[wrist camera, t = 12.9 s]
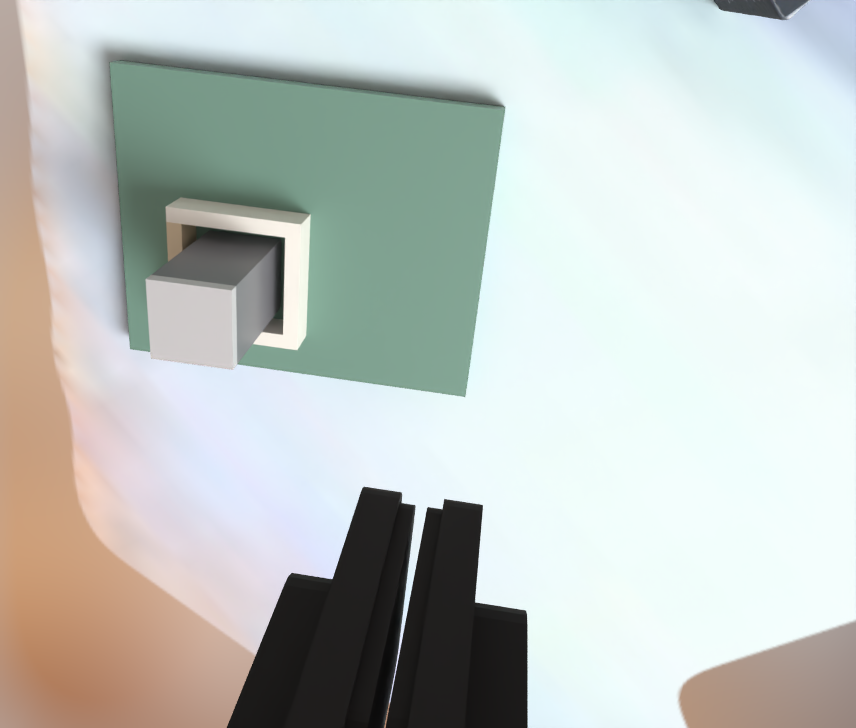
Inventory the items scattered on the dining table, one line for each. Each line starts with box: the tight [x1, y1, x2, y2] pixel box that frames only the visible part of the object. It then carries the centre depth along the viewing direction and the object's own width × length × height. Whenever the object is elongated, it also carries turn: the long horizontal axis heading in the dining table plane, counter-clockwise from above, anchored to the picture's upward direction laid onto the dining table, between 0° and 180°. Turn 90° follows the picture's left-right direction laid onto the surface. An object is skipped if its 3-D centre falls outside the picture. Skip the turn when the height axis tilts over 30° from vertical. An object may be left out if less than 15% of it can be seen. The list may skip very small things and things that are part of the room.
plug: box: [146, 230, 281, 370], centre depth 40 cm, size 4×4×8 cm
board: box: [110, 60, 505, 397], centre depth 42 cm, size 16×20×3 cm
